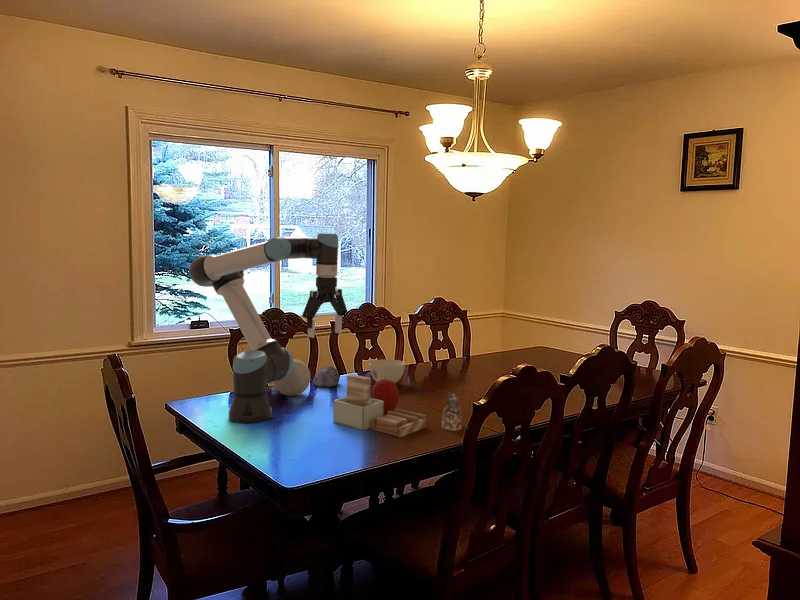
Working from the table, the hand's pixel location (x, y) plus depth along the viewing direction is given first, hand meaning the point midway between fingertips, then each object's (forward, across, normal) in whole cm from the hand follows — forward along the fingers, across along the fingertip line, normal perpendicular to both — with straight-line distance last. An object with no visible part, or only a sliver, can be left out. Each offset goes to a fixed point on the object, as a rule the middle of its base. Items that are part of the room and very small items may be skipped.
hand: (324, 335), depth 224 cm
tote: (+29, +2, -16) cm, 34 cm away
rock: (+31, +33, +32) cm, 55 cm away
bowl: (+30, +51, +12) cm, 60 cm away
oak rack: (+29, +7, -30) cm, 42 cm away
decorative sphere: (+31, +12, +30) cm, 45 cm away
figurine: (+29, +20, -44) cm, 56 cm away
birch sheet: (+29, +2, -16) cm, 33 cm away
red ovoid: (+30, +18, -15) cm, 38 cm away
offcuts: (+28, +4, -30) cm, 41 cm away
